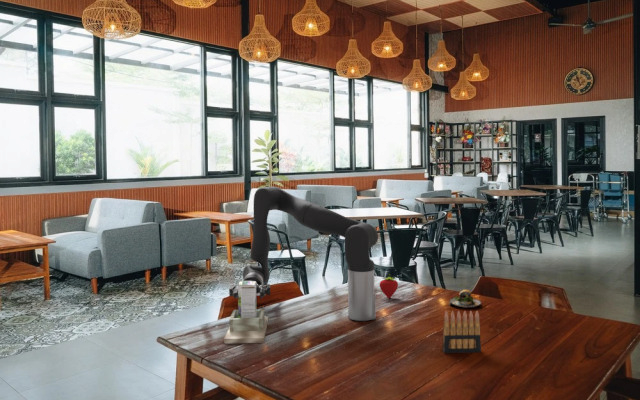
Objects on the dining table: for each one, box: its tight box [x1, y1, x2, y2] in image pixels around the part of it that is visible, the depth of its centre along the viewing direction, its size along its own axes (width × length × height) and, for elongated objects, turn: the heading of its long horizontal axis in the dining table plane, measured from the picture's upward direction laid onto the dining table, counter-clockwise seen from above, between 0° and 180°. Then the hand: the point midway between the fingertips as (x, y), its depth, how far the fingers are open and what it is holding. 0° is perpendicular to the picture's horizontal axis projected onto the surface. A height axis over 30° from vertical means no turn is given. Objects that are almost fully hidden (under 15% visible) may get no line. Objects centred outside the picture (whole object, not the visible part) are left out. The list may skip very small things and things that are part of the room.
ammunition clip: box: [442, 310, 482, 354], centre depth 151 cm, size 11×2×12 cm, turn 90°
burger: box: [448, 289, 482, 308], centre depth 199 cm, size 12×12×8 cm
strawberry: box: [379, 273, 399, 299], centre depth 210 cm, size 6×8×10 cm
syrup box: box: [237, 280, 257, 318], centre depth 173 cm, size 6×6×14 cm
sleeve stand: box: [223, 308, 269, 344], centre depth 172 cm, size 12×22×6 cm, turn 2°
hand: (248, 295), depth 177 cm, fingers open, 8 cm apart
